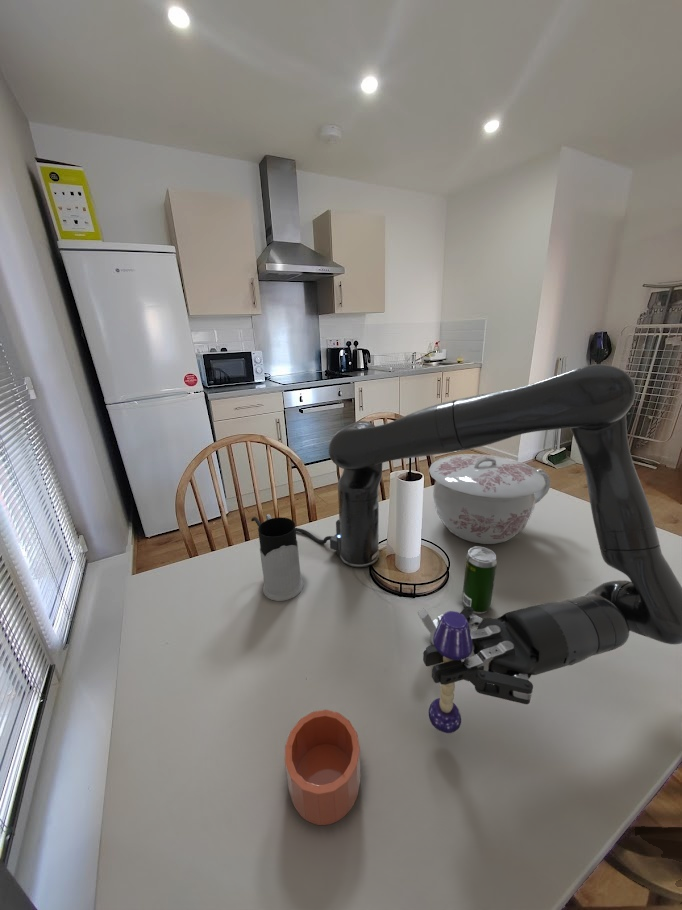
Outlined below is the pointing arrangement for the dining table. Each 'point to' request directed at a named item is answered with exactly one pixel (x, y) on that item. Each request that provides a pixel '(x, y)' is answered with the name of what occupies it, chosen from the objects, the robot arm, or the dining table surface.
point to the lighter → (429, 622)
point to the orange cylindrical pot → (323, 766)
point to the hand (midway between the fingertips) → (429, 666)
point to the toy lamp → (453, 645)
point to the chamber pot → (486, 495)
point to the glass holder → (279, 558)
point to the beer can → (479, 579)
